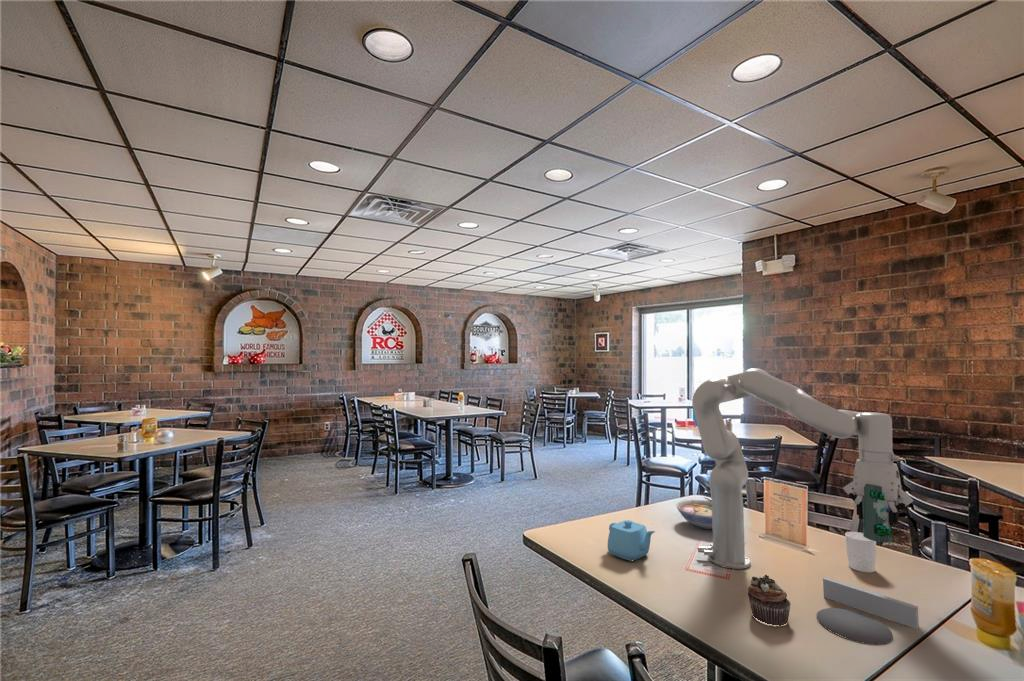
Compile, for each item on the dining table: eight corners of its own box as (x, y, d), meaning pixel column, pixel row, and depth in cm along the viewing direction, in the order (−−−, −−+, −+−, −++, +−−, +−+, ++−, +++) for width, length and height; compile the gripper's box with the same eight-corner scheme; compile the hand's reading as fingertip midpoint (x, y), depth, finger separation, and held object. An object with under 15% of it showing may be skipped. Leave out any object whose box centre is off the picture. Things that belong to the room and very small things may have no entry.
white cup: (883, 574, 143) (881, 541, 144) (854, 572, 145) (852, 539, 145) (868, 564, 151) (867, 532, 151) (841, 562, 152) (840, 530, 153)
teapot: (645, 570, 147) (644, 533, 147) (599, 553, 160) (598, 519, 161) (666, 559, 155) (665, 524, 155) (620, 544, 168) (620, 511, 169)
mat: (837, 641, 109) (836, 639, 109) (805, 608, 124) (805, 606, 124) (908, 646, 107) (908, 644, 107) (867, 612, 122) (867, 610, 122)
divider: (917, 629, 114) (916, 608, 114) (823, 597, 129) (823, 578, 130) (918, 627, 115) (917, 606, 115) (826, 595, 130) (825, 577, 131)
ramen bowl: (665, 517, 198) (665, 497, 198) (716, 515, 200) (715, 495, 201) (694, 539, 173) (694, 516, 173) (752, 536, 175) (751, 514, 176)
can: (884, 544, 126) (883, 487, 127) (859, 536, 131) (858, 482, 132) (896, 540, 129) (894, 485, 129) (870, 532, 134) (869, 480, 135)
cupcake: (773, 633, 112) (772, 590, 113) (739, 613, 121) (738, 574, 122) (800, 624, 116) (799, 582, 117) (765, 605, 125) (764, 567, 126)
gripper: (919, 460, 126) (921, 528, 126) (844, 450, 140) (845, 511, 139) (911, 464, 122) (913, 534, 121) (834, 453, 136) (836, 516, 135)
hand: (877, 521), depth 130 cm, fingers closed on can, 6 cm apart
